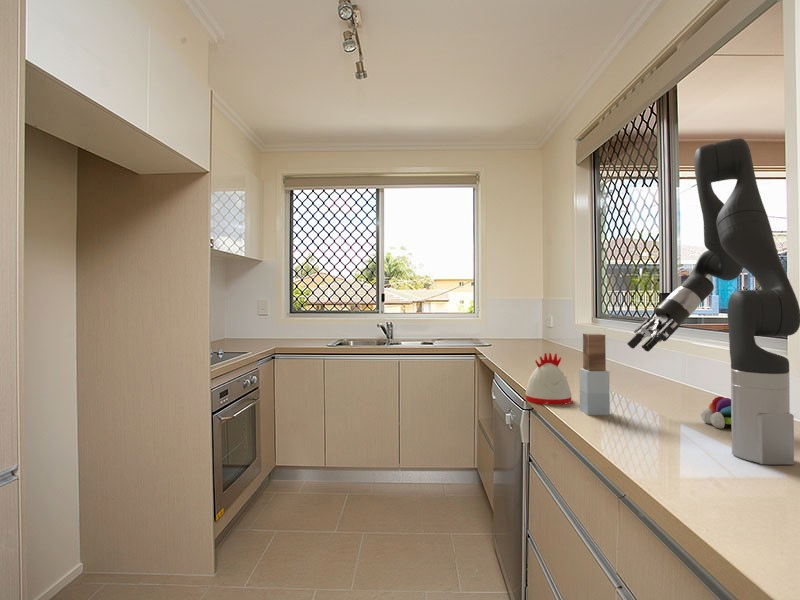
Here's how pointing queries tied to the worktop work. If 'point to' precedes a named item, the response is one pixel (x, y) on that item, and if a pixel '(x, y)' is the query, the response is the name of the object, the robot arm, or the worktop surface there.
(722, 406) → the multicoloured plush toy
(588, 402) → the tower base
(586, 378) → the tower top
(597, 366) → the walnut post
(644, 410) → the worktop surface
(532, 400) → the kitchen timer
